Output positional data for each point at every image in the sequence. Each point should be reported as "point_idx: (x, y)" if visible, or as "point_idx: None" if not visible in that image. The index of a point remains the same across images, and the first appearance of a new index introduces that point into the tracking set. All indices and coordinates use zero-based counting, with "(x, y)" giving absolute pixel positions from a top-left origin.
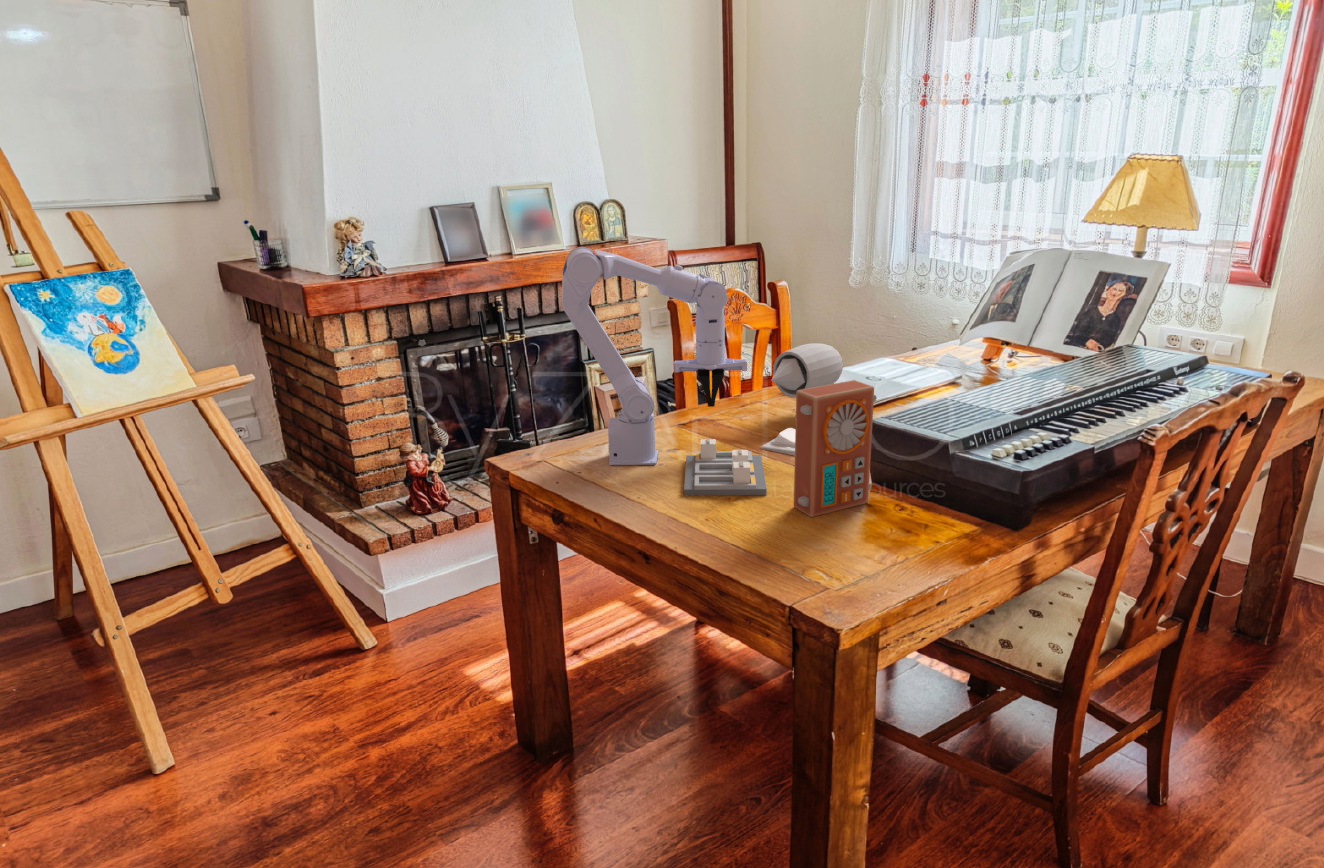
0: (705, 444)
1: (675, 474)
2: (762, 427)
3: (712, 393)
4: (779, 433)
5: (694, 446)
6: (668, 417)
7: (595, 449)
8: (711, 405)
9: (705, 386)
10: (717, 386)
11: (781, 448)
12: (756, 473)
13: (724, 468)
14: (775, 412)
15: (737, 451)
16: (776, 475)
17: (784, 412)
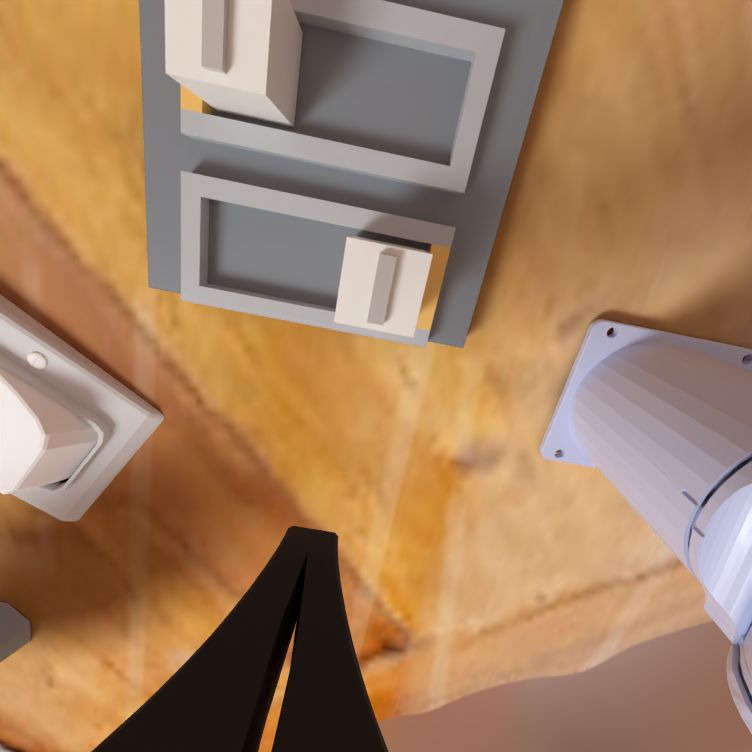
0: (405, 248)
1: (545, 194)
2: (145, 584)
3: (276, 615)
4: (45, 444)
5: (394, 477)
6: (419, 699)
7: None
8: (310, 533)
9: (338, 712)
10: (185, 686)
11: (68, 365)
12: None
13: (330, 138)
14: (103, 676)
15: (232, 55)
16: (97, 73)
17: (77, 671)
